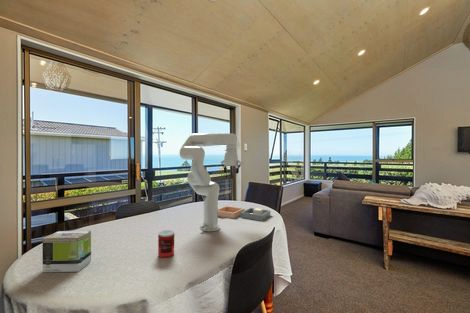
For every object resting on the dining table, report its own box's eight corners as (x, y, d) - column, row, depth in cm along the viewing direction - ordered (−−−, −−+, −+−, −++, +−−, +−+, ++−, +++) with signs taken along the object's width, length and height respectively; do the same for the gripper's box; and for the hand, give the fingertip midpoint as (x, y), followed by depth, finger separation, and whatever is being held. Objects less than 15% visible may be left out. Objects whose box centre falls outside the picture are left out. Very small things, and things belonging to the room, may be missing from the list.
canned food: (168, 250, 122) (168, 229, 122) (177, 254, 117) (177, 232, 117) (154, 254, 116) (155, 232, 116) (164, 259, 111) (164, 236, 111)
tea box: (91, 261, 108) (91, 230, 108) (78, 272, 98) (78, 237, 98) (58, 261, 108) (58, 230, 107) (41, 273, 98) (41, 237, 97)
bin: (261, 222, 173) (261, 215, 173) (240, 218, 182) (240, 212, 182) (270, 216, 189) (270, 210, 189) (250, 213, 198) (250, 207, 197)
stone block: (260, 218, 180) (260, 210, 180) (252, 217, 183) (253, 209, 183) (262, 216, 185) (263, 209, 185) (256, 215, 188) (256, 208, 188)
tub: (233, 219, 179) (234, 213, 179) (214, 216, 188) (214, 210, 188) (244, 214, 195) (244, 208, 195) (226, 211, 203) (226, 205, 203)
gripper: (218, 150, 177) (218, 173, 178) (240, 150, 170) (239, 174, 171) (223, 150, 184) (223, 172, 185) (243, 150, 177) (243, 173, 178)
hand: (231, 173), depth 178 cm, fingers open, 9 cm apart
